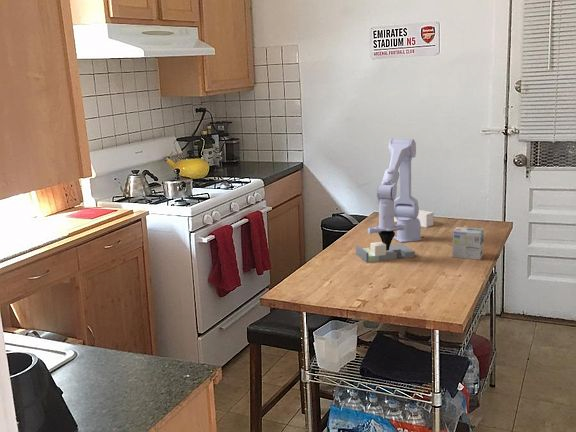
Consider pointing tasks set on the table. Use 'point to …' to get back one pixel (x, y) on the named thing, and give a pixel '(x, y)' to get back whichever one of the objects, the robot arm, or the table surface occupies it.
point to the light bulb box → (468, 243)
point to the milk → (424, 218)
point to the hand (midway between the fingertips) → (386, 249)
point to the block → (378, 248)
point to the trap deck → (392, 253)
